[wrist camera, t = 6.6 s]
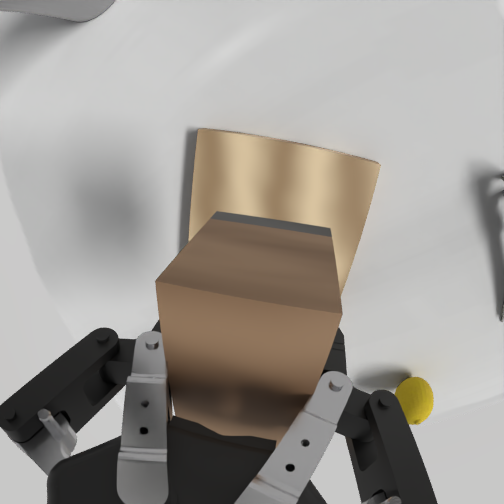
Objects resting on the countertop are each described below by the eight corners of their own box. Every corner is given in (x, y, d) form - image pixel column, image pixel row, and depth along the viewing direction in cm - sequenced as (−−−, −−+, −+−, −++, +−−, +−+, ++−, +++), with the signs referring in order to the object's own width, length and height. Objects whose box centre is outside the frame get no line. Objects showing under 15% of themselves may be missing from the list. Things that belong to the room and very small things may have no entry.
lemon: (428, 381, 35) (439, 424, 28) (393, 394, 37) (401, 438, 30) (424, 360, 33) (437, 406, 26) (386, 374, 35) (394, 421, 28)
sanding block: (295, 370, 17) (284, 459, 11) (213, 355, 17) (180, 437, 12) (330, 228, 13) (342, 314, 7) (216, 211, 13) (155, 280, 8)
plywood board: (189, 348, 39) (185, 356, 37) (203, 128, 26) (197, 129, 24) (305, 375, 37) (304, 383, 36) (376, 161, 24) (380, 164, 23)
